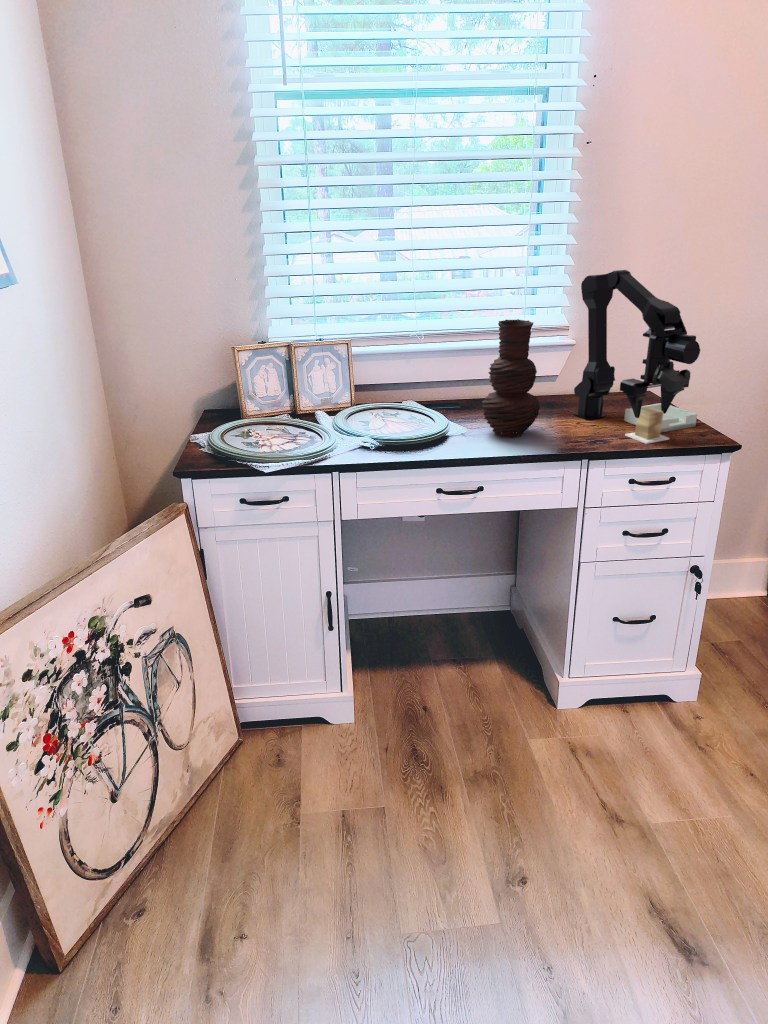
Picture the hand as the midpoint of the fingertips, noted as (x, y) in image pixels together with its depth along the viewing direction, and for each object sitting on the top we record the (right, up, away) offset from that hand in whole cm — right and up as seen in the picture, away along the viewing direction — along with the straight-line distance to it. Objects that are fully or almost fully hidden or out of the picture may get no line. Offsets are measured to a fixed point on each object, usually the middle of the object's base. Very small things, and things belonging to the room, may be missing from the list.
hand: (650, 415), depth 200 cm
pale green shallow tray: (+7, 0, +14) cm, 16 cm away
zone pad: (0, -6, +3) cm, 6 cm away
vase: (-36, -4, +7) cm, 37 cm away
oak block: (0, -5, +2) cm, 6 cm away
